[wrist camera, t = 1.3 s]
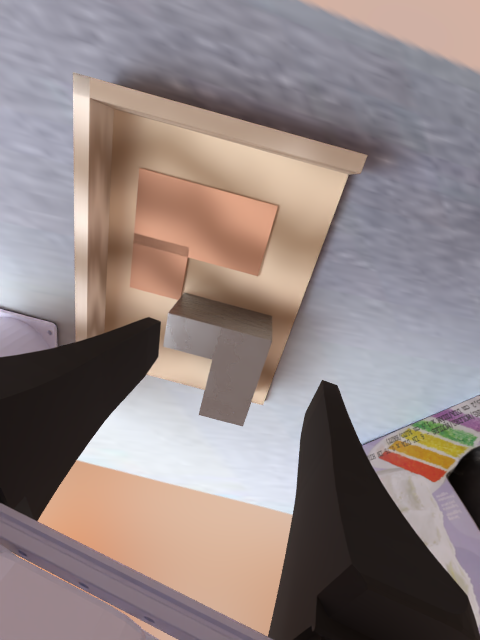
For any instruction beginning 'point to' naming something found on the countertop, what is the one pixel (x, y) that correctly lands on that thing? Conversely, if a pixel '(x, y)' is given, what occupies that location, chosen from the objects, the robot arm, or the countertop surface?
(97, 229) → the board
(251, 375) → the bracket
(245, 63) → the countertop surface
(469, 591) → the cake pan box
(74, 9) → the countertop surface
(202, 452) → the countertop surface
